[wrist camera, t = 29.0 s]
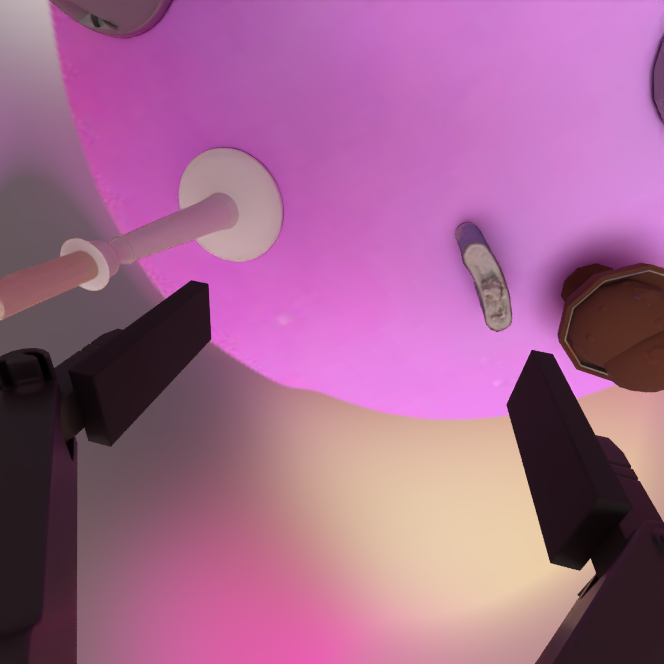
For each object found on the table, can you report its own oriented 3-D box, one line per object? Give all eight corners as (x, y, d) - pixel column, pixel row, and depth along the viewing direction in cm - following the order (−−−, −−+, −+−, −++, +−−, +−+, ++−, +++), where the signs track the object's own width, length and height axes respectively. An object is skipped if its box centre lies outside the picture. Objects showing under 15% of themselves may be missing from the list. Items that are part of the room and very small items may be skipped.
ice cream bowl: (676, 277, 39) (800, 350, 26) (583, 351, 45) (648, 441, 32) (597, 216, 38) (687, 259, 25) (512, 298, 44) (549, 369, 31)
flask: (451, 227, 42) (460, 255, 32) (479, 215, 41) (496, 240, 31) (478, 301, 45) (494, 345, 35) (505, 292, 44) (528, 335, 34)
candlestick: (226, 120, 42) (-107, 100, 15) (305, 215, 44) (138, 333, 18) (161, 200, 47) (-162, 284, 21) (236, 279, 50) (32, 441, 24)
